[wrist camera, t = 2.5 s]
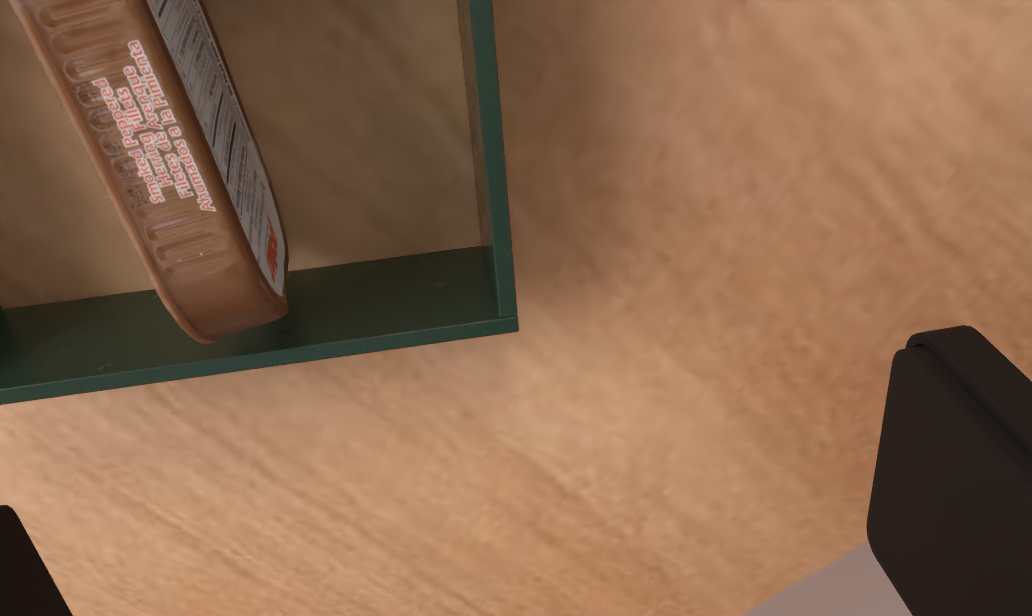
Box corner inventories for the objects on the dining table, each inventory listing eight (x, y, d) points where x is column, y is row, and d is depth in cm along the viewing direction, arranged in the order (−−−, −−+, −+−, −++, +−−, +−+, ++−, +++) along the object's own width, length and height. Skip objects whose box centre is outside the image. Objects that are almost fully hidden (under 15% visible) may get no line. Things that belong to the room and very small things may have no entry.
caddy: (-295, -288, 22) (-446, -292, 18) (444, -344, 24) (462, -360, 20) (-9, 325, 32) (-63, 414, 28) (499, 257, 34) (519, 331, 29)
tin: (10, -224, 24) (-135, -205, 17) (128, -252, 24) (32, -245, 17) (225, 258, 32) (189, 406, 25) (312, 236, 32) (300, 378, 25)
